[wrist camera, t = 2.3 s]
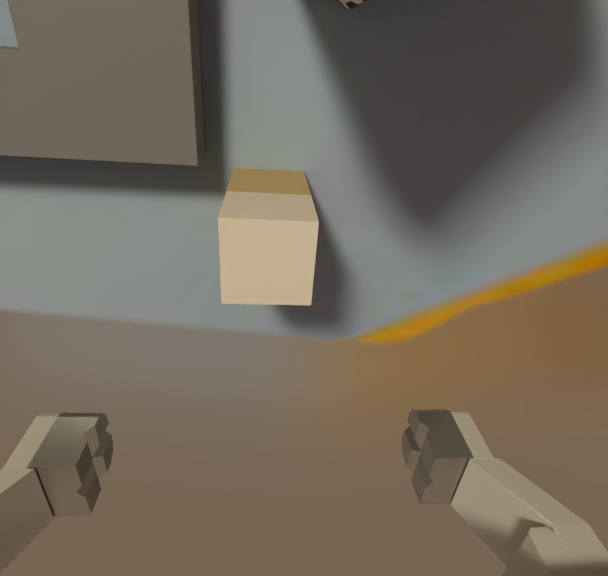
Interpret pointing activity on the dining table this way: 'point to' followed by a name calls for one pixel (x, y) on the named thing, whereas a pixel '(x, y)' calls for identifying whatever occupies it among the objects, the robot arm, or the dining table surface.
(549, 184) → the dining table surface
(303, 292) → the cream and tan block
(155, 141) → the socket
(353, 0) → the candy box
